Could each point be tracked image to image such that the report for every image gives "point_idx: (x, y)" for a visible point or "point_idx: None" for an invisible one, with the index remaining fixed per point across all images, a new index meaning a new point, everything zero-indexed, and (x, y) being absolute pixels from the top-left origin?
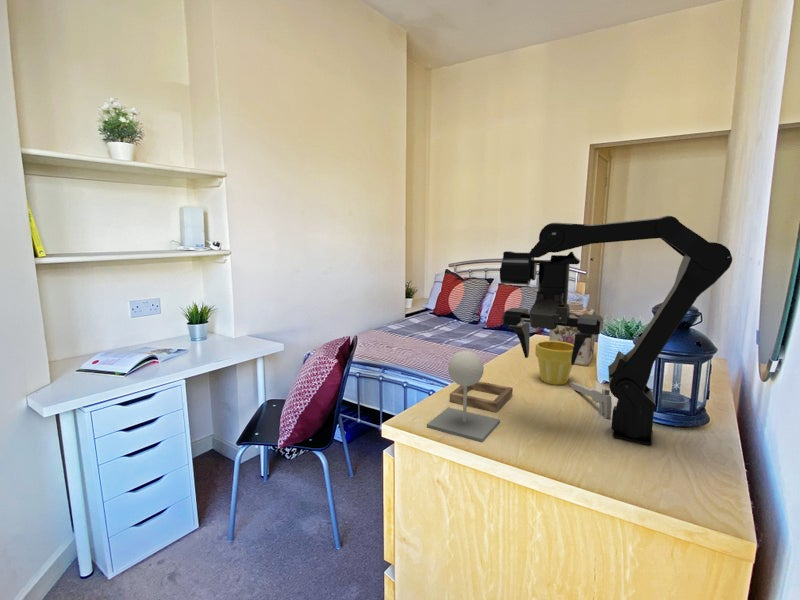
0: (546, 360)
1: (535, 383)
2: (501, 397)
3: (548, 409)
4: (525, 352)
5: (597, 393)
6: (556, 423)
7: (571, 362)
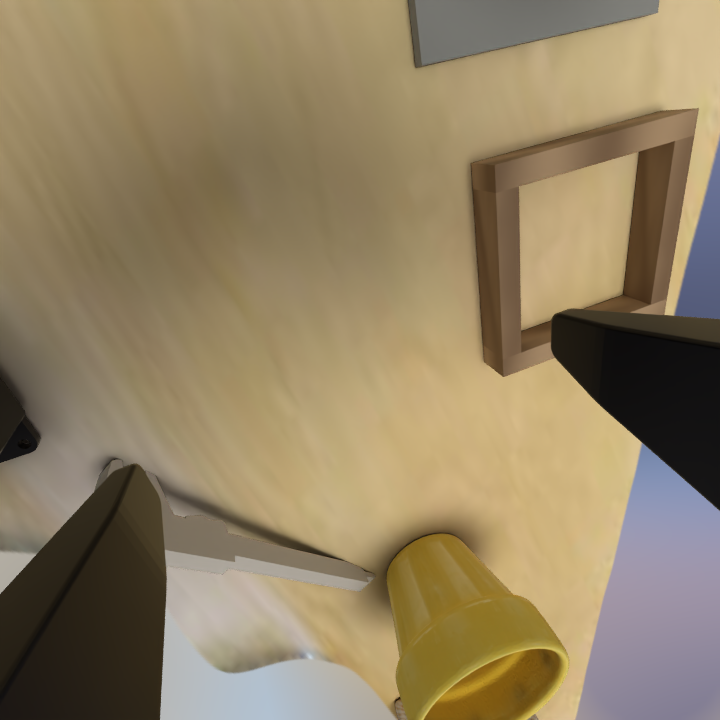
0: (481, 599)
1: (461, 504)
2: (503, 252)
3: (324, 360)
4: (610, 320)
5: (189, 547)
6: (226, 262)
7: (129, 477)
